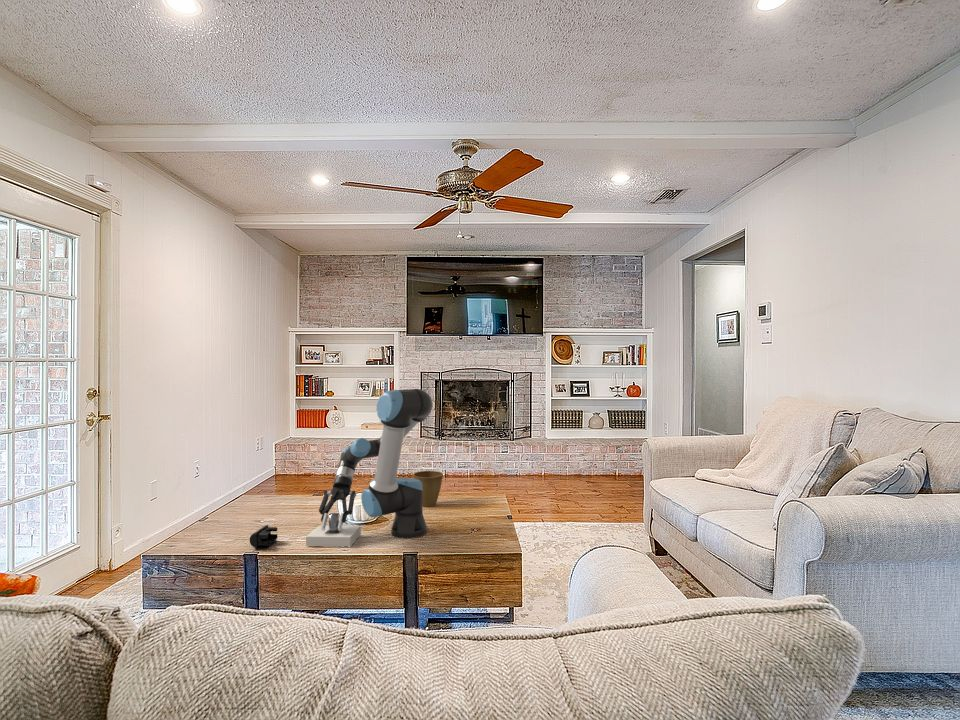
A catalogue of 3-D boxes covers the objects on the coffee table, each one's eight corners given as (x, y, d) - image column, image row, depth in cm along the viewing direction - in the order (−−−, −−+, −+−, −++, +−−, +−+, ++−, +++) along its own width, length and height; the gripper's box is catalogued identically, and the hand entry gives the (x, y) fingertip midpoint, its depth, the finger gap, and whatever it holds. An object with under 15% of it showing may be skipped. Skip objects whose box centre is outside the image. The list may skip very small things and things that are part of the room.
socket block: (360, 535, 226) (360, 525, 226) (350, 547, 212) (350, 537, 212) (319, 534, 227) (319, 525, 227) (306, 546, 213) (306, 536, 213)
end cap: (261, 541, 221) (261, 524, 221) (278, 541, 220) (277, 524, 220) (249, 549, 211) (249, 532, 211) (266, 549, 210) (266, 532, 210)
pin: (340, 539, 221) (340, 512, 221) (337, 542, 217) (336, 515, 217) (331, 539, 222) (330, 512, 222) (327, 542, 218) (327, 515, 218)
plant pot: (410, 508, 264) (409, 476, 264) (418, 500, 279) (417, 470, 278) (439, 510, 261) (438, 477, 261) (446, 501, 276) (445, 470, 276)
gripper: (367, 484, 234) (356, 534, 218) (324, 484, 235) (310, 533, 219) (363, 475, 229) (351, 525, 212) (319, 475, 230) (305, 524, 214)
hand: (330, 529), depth 216 cm, fingers open, 6 cm apart
